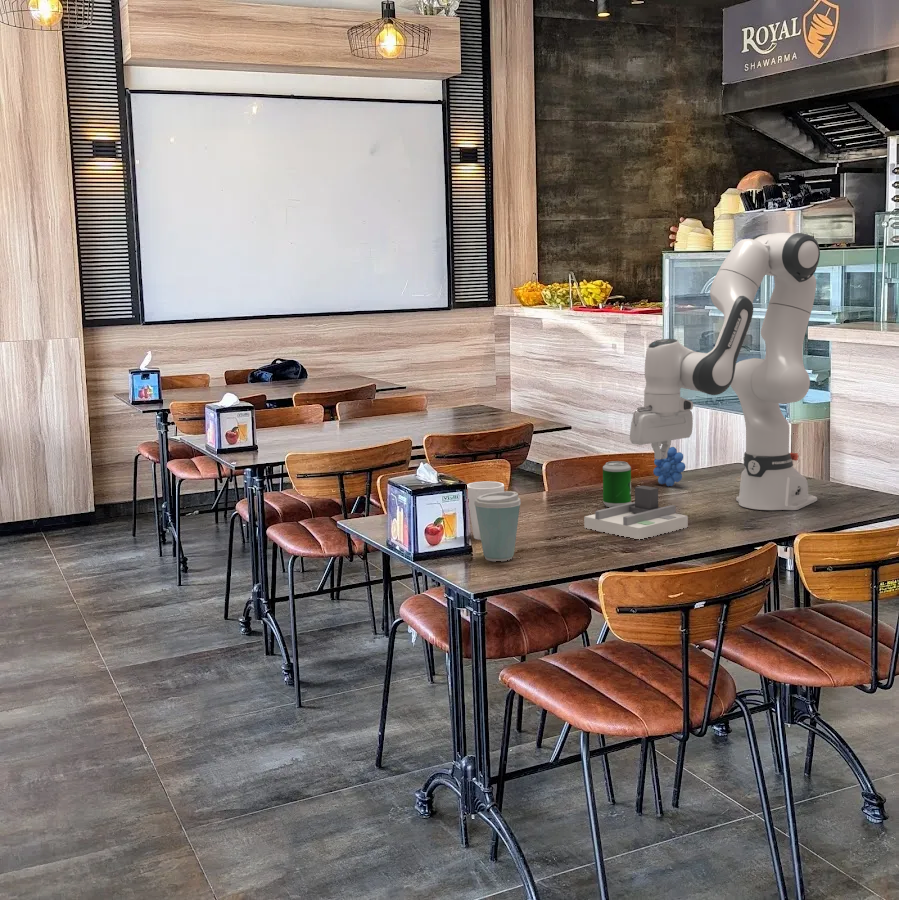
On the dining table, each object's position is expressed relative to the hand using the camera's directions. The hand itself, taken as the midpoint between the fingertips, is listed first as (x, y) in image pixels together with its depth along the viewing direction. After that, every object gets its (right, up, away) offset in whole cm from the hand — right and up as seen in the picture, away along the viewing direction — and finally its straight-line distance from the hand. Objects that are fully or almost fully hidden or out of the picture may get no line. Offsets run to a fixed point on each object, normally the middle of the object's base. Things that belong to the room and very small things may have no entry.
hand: (660, 458), depth 280 cm
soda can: (-8, -13, +21) cm, 26 cm away
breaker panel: (-7, -17, -3) cm, 19 cm away
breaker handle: (-4, -13, -1) cm, 14 cm away
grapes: (+12, -9, +46) cm, 48 cm away
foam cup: (-44, -19, -8) cm, 49 cm away
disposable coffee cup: (-42, -23, -28) cm, 55 cm away
